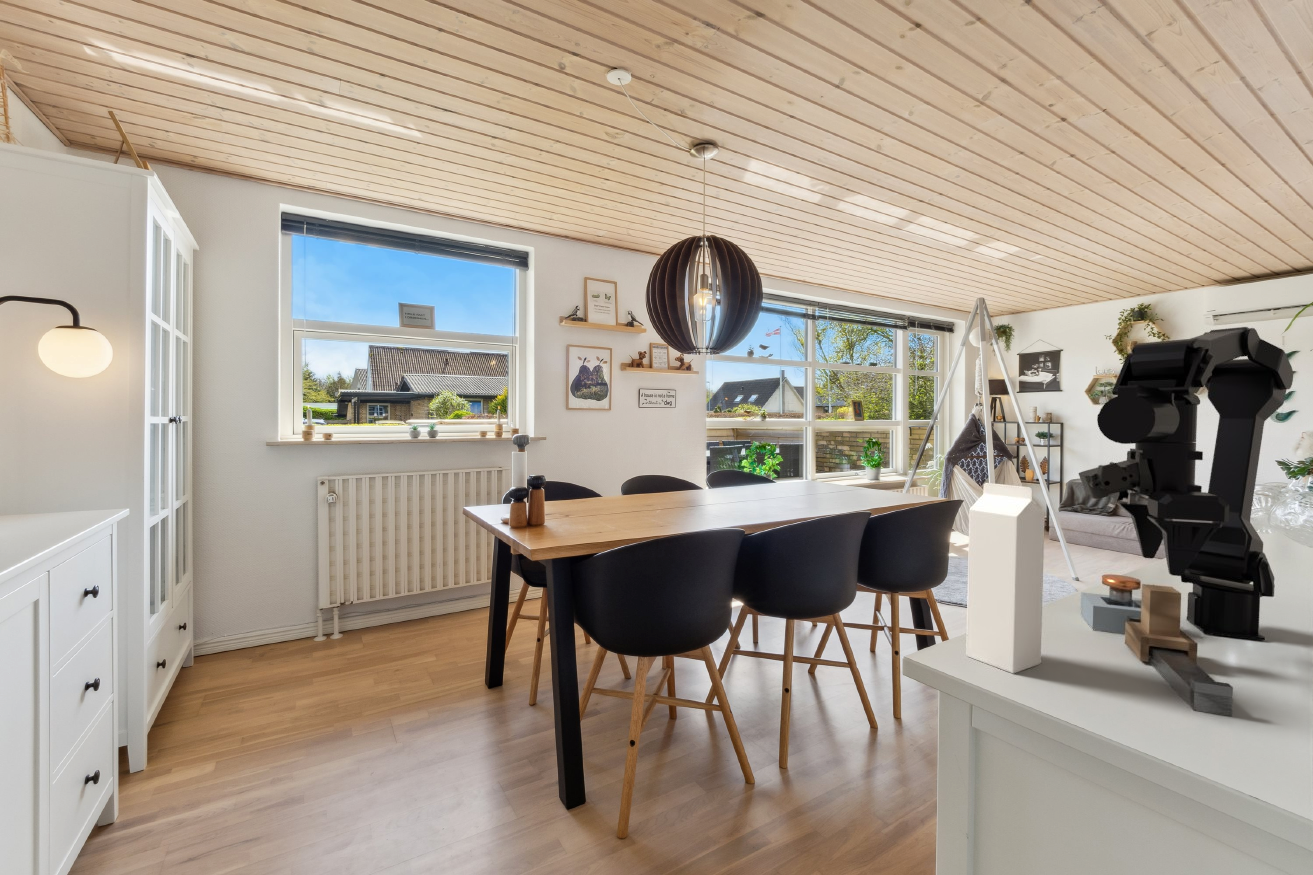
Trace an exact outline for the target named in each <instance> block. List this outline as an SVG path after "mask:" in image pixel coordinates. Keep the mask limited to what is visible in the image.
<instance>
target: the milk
mask: <svg viewBox="0 0 1313 875" xmlns="http://www.w3.org/2000/svg"><path fill="white" fill-rule="evenodd" d="M982 491H983V492H982V493H983V494H982V495H981V496H980V497H979V498H978V499H977V500H976V502H974V504H973V505H971V507H970V508H969V510H968V511H969V512H968V513H969V514H968V515H969V517H968V550H967V551H968V552H967V553H968V555H967V557H968V559H967V560H968V561H967V599H966V601H967V602H966V604H967V606H966V640H965V641H966V642H965V643H966V646H965V647H966V648H965V651H966V652H965V656H966V657H968V658H971V659H974V660H977V661H978V662H981V663H984V664H986V665H990V666H991V667H995V668H997V669H1000V670H1003V671H1005V672H1008V673H1010V674H1012V675H1013V674H1016V673H1019V672H1022V671H1024V670H1027V669H1030V668H1032V667H1035V666H1038V665H1040V664H1041V663H1042V661H1041V660H1042V626H1043V622H1042V621H1043V595H1044V594H1043V592H1044V588H1043V587H1044V557H1045V556H1044V555H1045V554H1044V553H1045V552H1044V551H1045V517H1046V512H1045V510H1043V509H1042V508H1041V507H1040V506H1039V505H1038V504H1037V503H1036V502H1035V501H1034V500H1033V488H1031V487H1029V486H1020V485H1012V484H1002V483H993V482H992V483H991V482H984V483H983V489H982ZM967 635H968V636H967Z"/></svg>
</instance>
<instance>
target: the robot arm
mask: <svg viewBox="0 0 1313 875" xmlns="http://www.w3.org/2000/svg"><path fill="white" fill-rule="evenodd" d="M1130 351H1131V352H1129V353H1128V354H1127V356H1126V357H1125V360H1124V362H1123V365H1122V367H1121V369H1120V371H1119V373H1118V376H1117V379H1116V381H1115V384H1114V386H1113V388H1112V392H1111V393H1112V395H1113V396H1114V397H1112V398H1111V399H1108V400H1107V401H1106V402H1105V403H1104V404H1103V406H1102V407H1101V408H1100V410H1099V413H1098V414H1097V417H1096V418H1097V420H1096V422H1097V427H1098V428H1099V431H1100V432H1101V434H1102V435H1103V436H1104V437H1105V438H1106V439H1108V440H1110V441H1112V442H1114V443H1118V444H1122V445H1123V444H1124V445H1125V444H1126V445H1131V444H1133V445H1134V444H1135V445H1134V448H1129V450H1127V453H1126V460H1122V461H1118V462H1113V461H1111V462H1110V461H1109V464H1108V463H1107V464H1100V465H1098V466H1097V467H1094V468H1090V469H1087V470H1083V471H1080V472H1078V476H1079V478H1080V481H1081V484H1082V486H1083V488H1084V492H1085V493H1086V495H1087V496H1088V497H1091V498H1092V499H1093V500H1094V499H1095V500H1097V499H1103V498H1107V497H1109V496H1110V495H1111V498H1112V499H1115V500H1116V501H1115V503H1116V505H1117V506H1119V507H1120V508H1121V509H1123V510H1124V511H1125V512H1126V513H1127V514H1129V515H1130V517H1131V521H1132V524H1133V527H1134V531H1135V535H1136V538H1137V540H1138V541H1137V542H1138V545H1139V548H1140V552H1141V556H1142V557H1143V558H1144V559H1154V558H1155V556H1156V555H1157V553H1158V551H1159V549H1160V546H1161V544H1162V543H1163V546H1164V553H1165V558H1166V559H1165V560H1166V566H1167V569H1168V574H1169V575H1171V576H1177V577H1180V580H1181V583H1185V584H1192V591H1189V592H1188V593H1187V607H1186V608H1187V610H1186V611H1187V615H1186V621H1188V622H1189V623H1190V624H1191V625H1192V626H1194V627H1195V628H1196V629H1198V630H1199V631H1201V632H1202V633H1204V634H1206V635H1214V636H1223V637H1232V638H1233V637H1234V638H1238V639H1246V640H1247V639H1249V640H1256V641H1257V640H1258V641H1266V636H1265V635H1263V634H1261V633H1260V632H1259V631H1260V628H1259V627H1260V611H1261V610H1260V608H1261V607H1260V606H1261V604H1260V603H1261V598H1262V597H1266V598H1267V597H1268V598H1273V597H1275V576H1274V573H1273V571H1272V568H1271V566H1270V563H1269V561H1268V558H1267V556H1266V554H1265V552H1264V542H1263V539H1262V538H1261V537H1260V535H1259V534H1258V532H1257V530H1256V529H1255V527H1254V526H1253V524H1252V523H1251V518H1252V510H1253V509H1252V508H1253V501H1254V496H1255V487H1256V481H1257V475H1258V474H1257V473H1258V469H1259V468H1258V467H1259V461H1260V454H1261V449H1262V448H1261V447H1262V439H1263V435H1264V434H1263V433H1264V428H1265V427H1264V426H1265V423H1266V421H1267V420H1268V419H1269V418H1270V417H1271V416H1272V415H1273V414H1274V413H1275V412H1277V411H1278V410H1279V409H1280V408H1281V407H1282V406H1283V405H1284V402H1285V398H1286V394H1287V390H1290V389H1291V388H1292V385H1293V382H1294V371H1293V366H1292V364H1291V362H1290V361H1289V358H1288V356H1287V354H1286V352H1285V350H1283V349H1282V348H1281V347H1279V346H1276V345H1275V344H1272V343H1270V342H1268V341H1266V340H1264V339H1262V338H1261V337H1260V336H1259V334H1258V332H1257V329H1255V327H1250V328H1249V327H1248V326H1241V327H1240V326H1239V327H1232V328H1231V327H1229V328H1220V329H1211V330H1209V331H1207V332H1204V333H1203V334H1201V335H1200V334H1199V335H1197V336H1195V337H1191V338H1185V339H1174V340H1161V341H1150V342H1149V341H1148V342H1139V343H1136V344H1135V345H1134V346H1132V348H1131V350H1130ZM1241 357H1247V358H1241ZM1239 358H1240V359H1239ZM1201 388H1206V390H1207V398H1208V400H1209V402H1210V403H1211V404H1212V406H1213V408H1214V409H1215V410H1216V412H1217V413H1218V415H1219V416H1218V424H1217V431H1216V438H1215V444H1214V451H1213V456H1212V457H1213V458H1212V462H1211V470H1210V477H1209V482H1208V483H1209V484H1208V491H1207V492H1206V491H1205V492H1203V491H1202V488H1203V487H1202V485H1199V484H1196V461H1203V460H1204V458H1203V457H1204V456H1203V455H1204V454H1203V453H1204V452H1203V451H1202V450H1200V451H1199V450H1197V430H1198V429H1197V428H1198V427H1197V426H1198V419H1197V418H1198V406H1199V405H1200V404H1201V399H1200V397H1199V396H1198V395H1197V393H1198V392H1199V391H1200V389H1201Z"/></svg>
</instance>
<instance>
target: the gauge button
mask: <svg viewBox="0 0 1313 875" xmlns="http://www.w3.org/2000/svg"><path fill="white" fill-rule="evenodd" d="M1101 584H1103V585H1104V586H1107V587H1109V590H1108V591H1109V593H1108V595H1109V605H1116V606H1125V607H1132V598H1133V591H1135V590H1140V589H1142V582H1141V580H1140V579H1139V578H1136V577H1133V576H1127V575H1123V574H1122V575H1121V574H1112V573H1111V574H1102V575H1101Z"/></svg>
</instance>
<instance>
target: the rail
mask: <svg viewBox="0 0 1313 875" xmlns="http://www.w3.org/2000/svg"><path fill="white" fill-rule="evenodd" d="M1127 621H1129V622H1138V623H1141V617H1132V616H1127ZM1148 663H1149V664H1150V665H1151V666H1152V668H1154V669H1155V670H1156V671H1157V672H1158V673H1159V674H1160V676H1162V678H1163V679H1164V680H1165V681H1166V682H1167V683H1168V684H1169V685H1170V686H1171V688H1173V689H1174V690H1175V692H1177V694H1178V695H1179V696H1180V697H1181V698H1182V699H1183V701H1184V702H1186V703H1187V705H1188V706H1189V707H1190V708H1191V709H1192V710H1193V711H1196V712H1203V713H1207V714H1213V715H1214V714H1215V715H1221V716H1225V717H1233V695H1234V694H1233V692H1234V691H1233V690H1234V687H1233V686H1232V685H1231V684H1229V683H1227V682H1220V681H1215V679H1214V678H1212V677H1211V676H1210V675H1209V674H1208V673H1207V672H1205V671H1204V670H1203V669H1202V668H1201V667H1200V666H1199V665H1198V664H1197V665H1196V664H1195V663H1194V662H1193V661H1192V660H1191V659H1190V658H1189V657H1188V656H1186V655H1185V654H1184V653H1183V652H1182V651H1181V650H1179V649H1171V648H1163V647H1155V646H1149V656H1148Z"/></svg>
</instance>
